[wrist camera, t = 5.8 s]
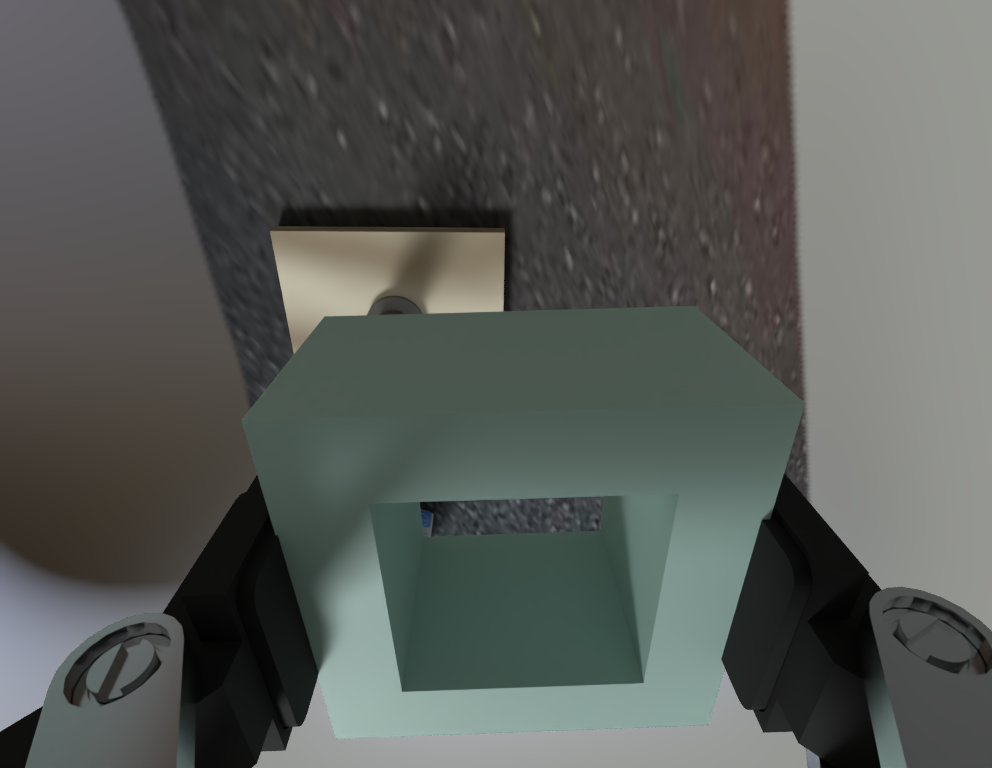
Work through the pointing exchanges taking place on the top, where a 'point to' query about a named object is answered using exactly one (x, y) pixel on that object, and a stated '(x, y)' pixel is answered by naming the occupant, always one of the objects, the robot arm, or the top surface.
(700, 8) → the top surface
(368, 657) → the ring
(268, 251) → the top surface
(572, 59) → the top surface
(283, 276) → the board
